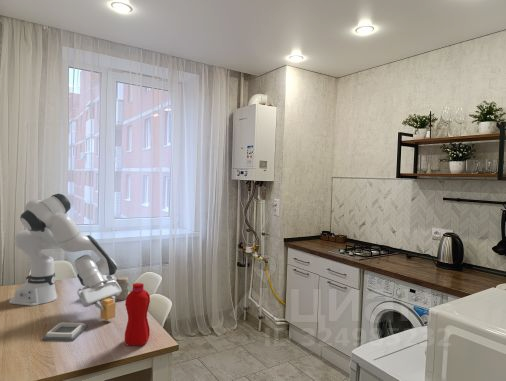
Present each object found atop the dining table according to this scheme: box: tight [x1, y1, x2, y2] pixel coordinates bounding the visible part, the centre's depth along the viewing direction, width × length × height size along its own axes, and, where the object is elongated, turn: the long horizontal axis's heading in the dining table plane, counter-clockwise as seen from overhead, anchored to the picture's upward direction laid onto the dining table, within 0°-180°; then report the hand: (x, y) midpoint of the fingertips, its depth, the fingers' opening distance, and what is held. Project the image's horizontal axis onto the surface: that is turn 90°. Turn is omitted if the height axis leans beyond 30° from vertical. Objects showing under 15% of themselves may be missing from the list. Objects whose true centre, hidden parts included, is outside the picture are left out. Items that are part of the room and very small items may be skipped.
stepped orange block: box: [99, 298, 116, 321], centre depth 164 cm, size 5×5×9 cm
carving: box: [115, 276, 130, 301], centre depth 194 cm, size 6×8×12 cm
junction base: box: [41, 321, 88, 342], centre depth 151 cm, size 13×13×2 cm
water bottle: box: [124, 282, 151, 347], centre depth 146 cm, size 9×11×25 cm
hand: (108, 307), depth 164 cm, fingers closed on stepped orange block, 5 cm apart
